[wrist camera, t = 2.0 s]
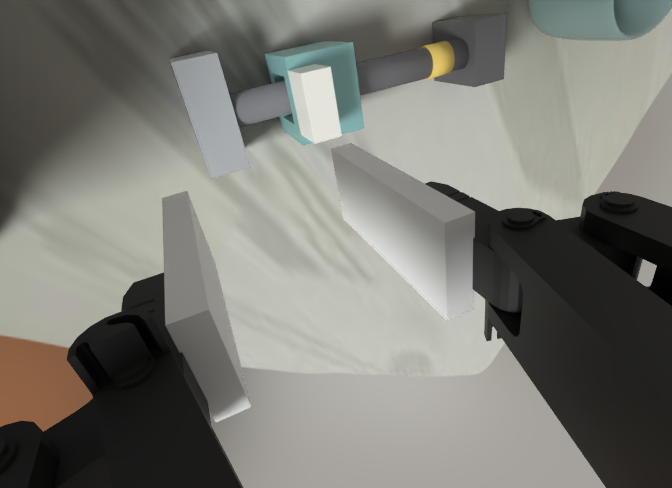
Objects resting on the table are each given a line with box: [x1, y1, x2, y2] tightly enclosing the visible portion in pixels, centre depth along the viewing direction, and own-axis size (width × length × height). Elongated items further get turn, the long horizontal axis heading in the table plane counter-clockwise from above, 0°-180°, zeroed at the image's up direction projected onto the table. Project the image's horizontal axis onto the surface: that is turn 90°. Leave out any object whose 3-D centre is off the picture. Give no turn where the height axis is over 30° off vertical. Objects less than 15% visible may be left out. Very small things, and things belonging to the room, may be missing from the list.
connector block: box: [432, 13, 507, 87], centre depth 35 cm, size 3×5×6 cm, turn 11°
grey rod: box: [229, 39, 469, 127], centre depth 32 cm, size 21×3×3 cm, turn 101°
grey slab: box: [169, 50, 250, 179], centre depth 30 cm, size 3×8×5 cm, turn 11°
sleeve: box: [265, 41, 364, 145], centre depth 30 cm, size 5×6×9 cm
